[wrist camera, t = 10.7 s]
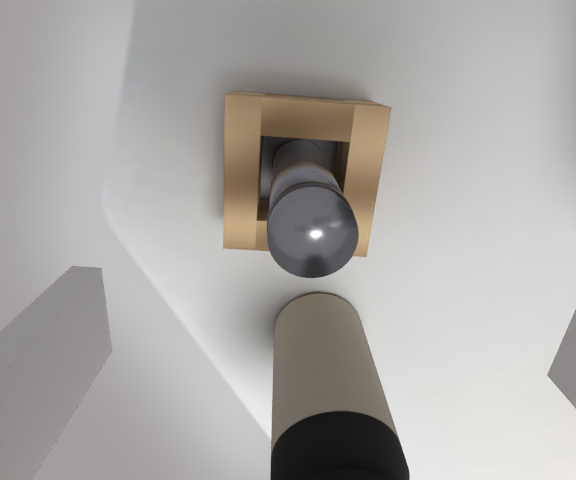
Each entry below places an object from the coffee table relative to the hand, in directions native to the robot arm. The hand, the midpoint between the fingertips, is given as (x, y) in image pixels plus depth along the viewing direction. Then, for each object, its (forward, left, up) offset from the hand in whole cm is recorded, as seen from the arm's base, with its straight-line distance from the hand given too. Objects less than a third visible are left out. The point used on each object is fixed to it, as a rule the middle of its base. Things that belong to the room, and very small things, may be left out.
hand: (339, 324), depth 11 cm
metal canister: (0, 0, -21) cm, 21 cm away
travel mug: (+15, +3, -21) cm, 26 cm away
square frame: (0, 0, -21) cm, 21 cm away
